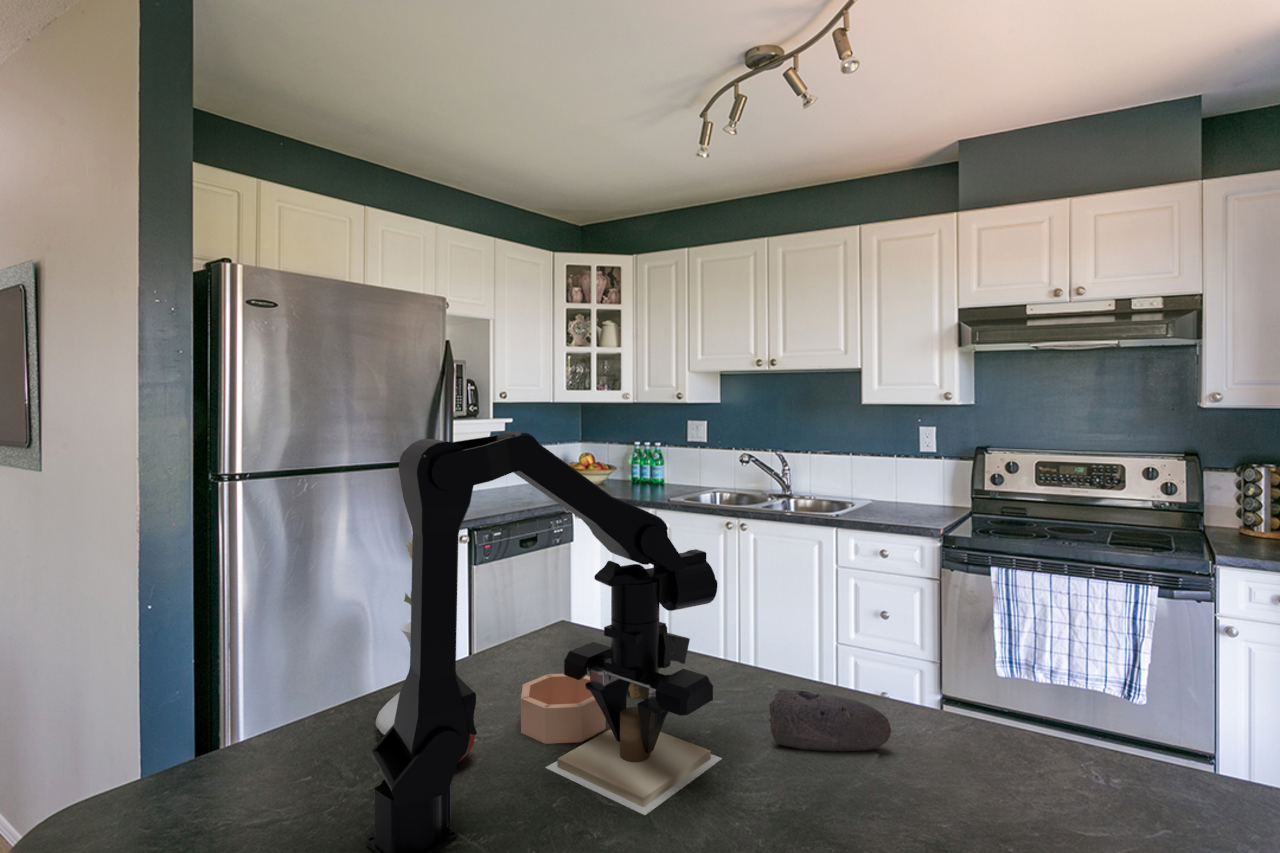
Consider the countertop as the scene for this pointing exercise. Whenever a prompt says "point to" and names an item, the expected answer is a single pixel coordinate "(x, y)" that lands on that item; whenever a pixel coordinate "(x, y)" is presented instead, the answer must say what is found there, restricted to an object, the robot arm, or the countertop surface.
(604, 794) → the mat
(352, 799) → the countertop surface
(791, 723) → the perforated stone tool
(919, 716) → the countertop surface
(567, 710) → the octagonal clay planter
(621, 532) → the robot arm
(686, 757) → the board
